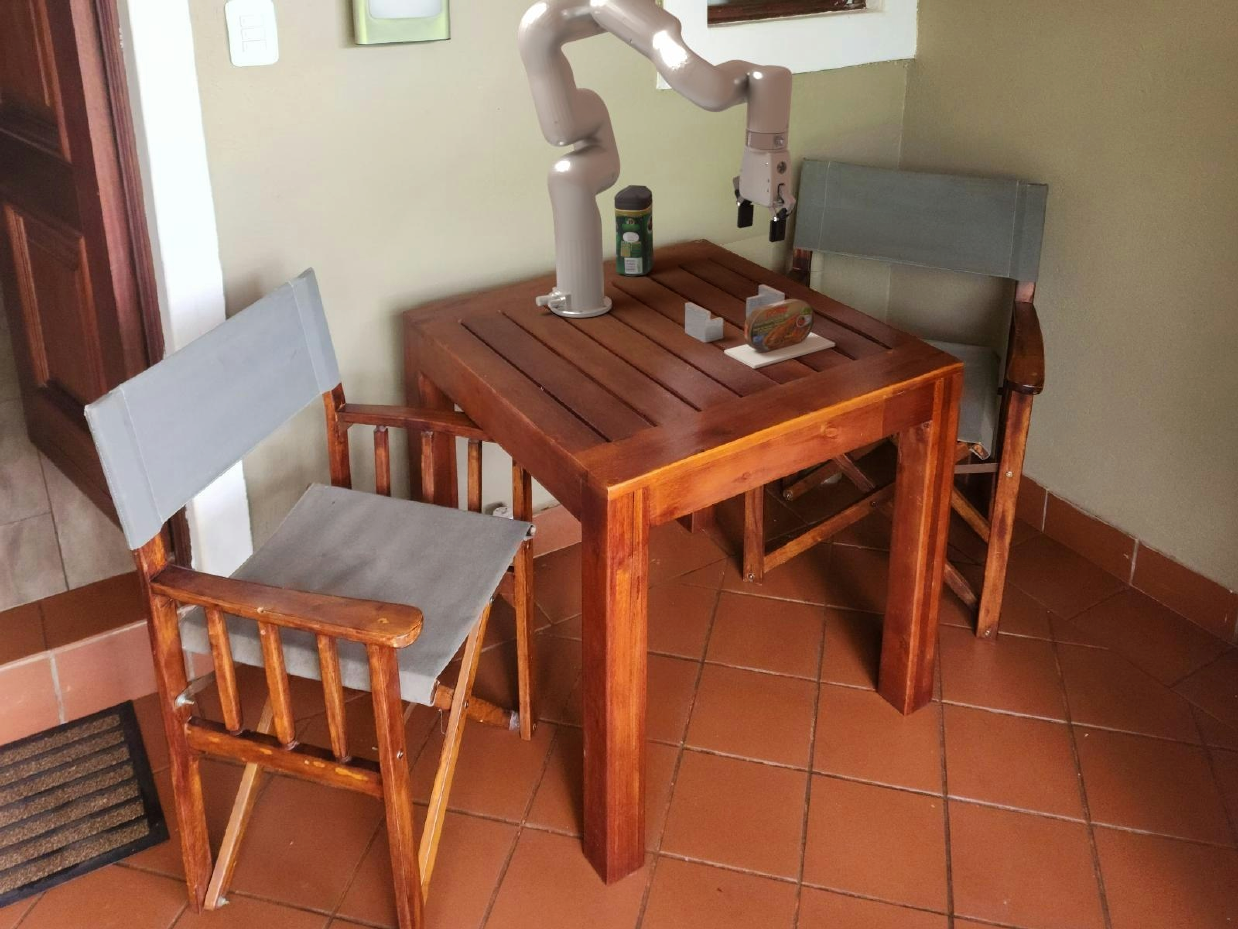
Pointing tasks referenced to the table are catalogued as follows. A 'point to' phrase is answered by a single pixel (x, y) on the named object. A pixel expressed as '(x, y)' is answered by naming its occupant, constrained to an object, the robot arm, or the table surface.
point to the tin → (778, 325)
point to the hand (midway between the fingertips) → (760, 233)
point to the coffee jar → (634, 230)
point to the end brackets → (712, 329)
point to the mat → (778, 351)
